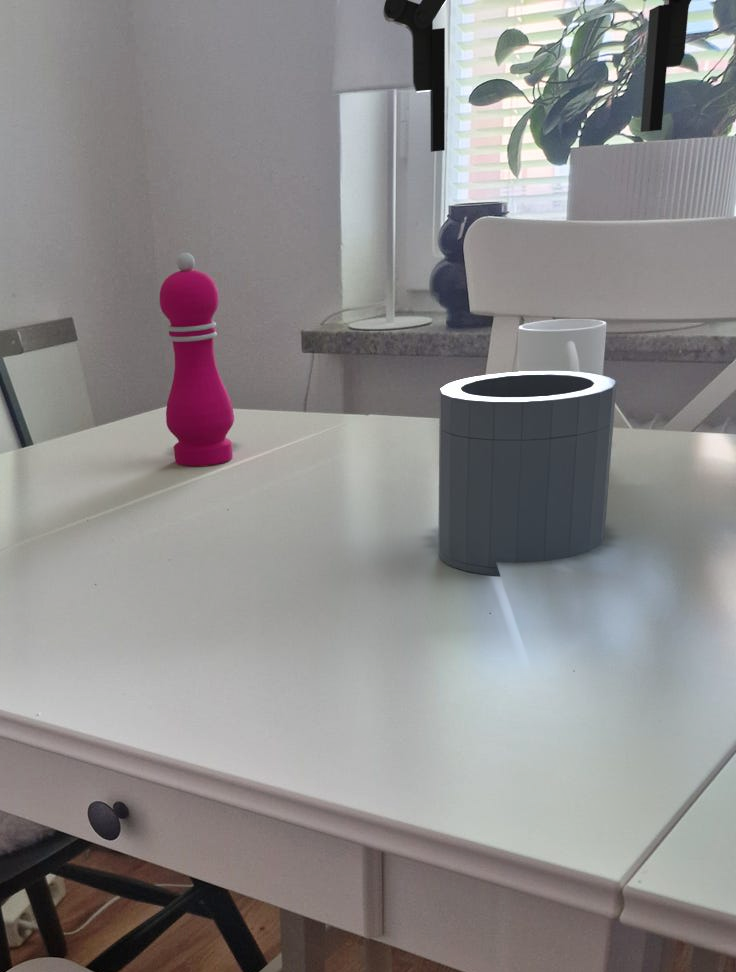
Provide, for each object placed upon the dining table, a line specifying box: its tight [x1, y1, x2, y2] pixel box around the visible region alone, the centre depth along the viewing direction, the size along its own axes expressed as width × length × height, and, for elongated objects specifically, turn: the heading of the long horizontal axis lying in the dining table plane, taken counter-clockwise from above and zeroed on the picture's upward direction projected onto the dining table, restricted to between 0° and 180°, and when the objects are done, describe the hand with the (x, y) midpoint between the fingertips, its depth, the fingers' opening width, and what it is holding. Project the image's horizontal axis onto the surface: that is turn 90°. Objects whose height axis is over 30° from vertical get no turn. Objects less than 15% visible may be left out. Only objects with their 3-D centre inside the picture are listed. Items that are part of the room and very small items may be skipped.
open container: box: [437, 371, 618, 577], centre depth 86 cm, size 12×12×12 cm
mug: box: [516, 318, 607, 376], centre depth 111 cm, size 12×8×12 cm
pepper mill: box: [159, 252, 235, 468], centre depth 120 cm, size 7×7×20 cm
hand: (543, 142), depth 75 cm, fingers open, 13 cm apart
